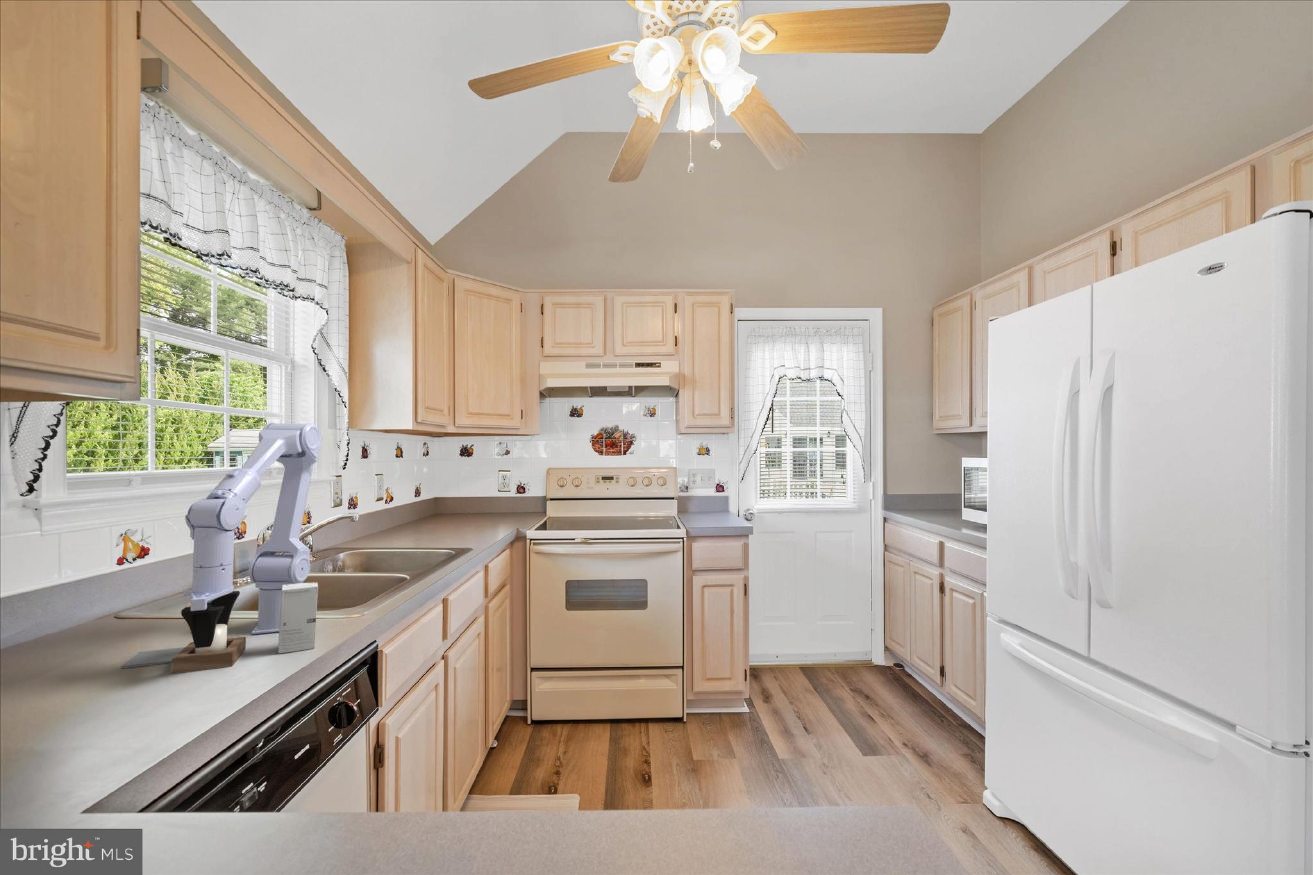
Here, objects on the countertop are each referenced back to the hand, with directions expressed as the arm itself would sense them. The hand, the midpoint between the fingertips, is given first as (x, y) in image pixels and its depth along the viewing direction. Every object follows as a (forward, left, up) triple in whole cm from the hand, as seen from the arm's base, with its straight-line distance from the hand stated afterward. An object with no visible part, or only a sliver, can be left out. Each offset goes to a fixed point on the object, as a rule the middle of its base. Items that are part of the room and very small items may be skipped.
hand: (211, 639), depth 98 cm
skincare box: (-2, +13, -4) cm, 14 cm away
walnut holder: (0, 0, -4) cm, 4 cm away
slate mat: (-5, -9, -4) cm, 11 cm away
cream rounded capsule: (0, 0, -4) cm, 4 cm away
